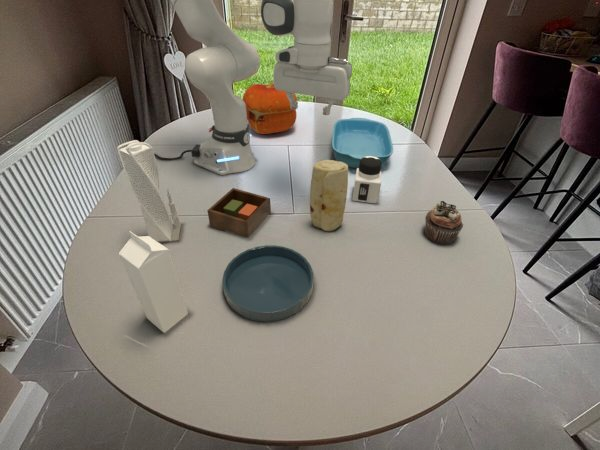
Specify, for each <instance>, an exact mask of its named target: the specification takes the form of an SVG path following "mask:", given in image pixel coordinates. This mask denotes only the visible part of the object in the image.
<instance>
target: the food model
mask: <svg viewBox="0 0 600 450" xmlns="http://www.w3.org/2000/svg"><path fill="white" fill-rule="evenodd" d="M310 179H311V180H310V186H309V187H310V189H309V213H310V219H311V222H312V225H313V227H315V228H318V229H322V230H323V231H324V232H333V231H335V230H336V229H338V228H339V227H340V226H341V225H342V224H343V222H344V216H345V215H344V214H345V210H346V205H347V204H346V203H347V197H348V196H347V195H348V187H349V167H348V165H347V164H345V163H343V162H338V161H337V160H333V159H332V160H331V159H325V160H324V159H323V160H320V161H318V162H316V163H314V164H313V166H312V172H311V178H310Z"/></svg>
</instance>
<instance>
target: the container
mask: <svg viewBox="0 0 600 450" xmlns="http://www.w3.org/2000/svg"><path fill="white" fill-rule="evenodd" d="M381 166H382V162H381V160H380V159H379V158H376V157H373V156H366V157H363V158H362V159H361V160H360V164H359V168H356V171H355V178H354V186H353V191H352V199H351V200H352V201H354V202H361V203H369V204H378V202H379V201H378V200H379V197H380V191H381V190H380V189H381V185H382V167H383V166H382V167H381Z"/></svg>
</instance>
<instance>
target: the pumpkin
mask: <svg viewBox="0 0 600 450" xmlns="http://www.w3.org/2000/svg"><path fill="white" fill-rule="evenodd" d="M293 97H294V99H295V101H297V102H298V98H297V96H296V93H294V95H293ZM242 100H243V101H244V102H245V104H246V111H247V123H248V125H249V126H250V127H251V129H253V131H254V132H256V133H258V134H260V135H271V134H275V133H282V132H286V131H288V130H290V129H291V128H292V127H293V126H294V125H295V124H296V121H297V116H298V115H297V109H296V110H295V109H291V108H290V102H289V100H288V98H287V96H286V92H285V91H279V90H276V89H275V87H274V84H273V81H270V82H269V83H268V84H260V83H256V84H252V85H249V86H248V87H247V89H245V91H244V94H243V97H242Z"/></svg>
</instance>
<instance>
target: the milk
mask: <svg viewBox="0 0 600 450" xmlns="http://www.w3.org/2000/svg"><path fill="white" fill-rule="evenodd" d="M128 233H129V236H130V238H129V239H128V240H127V242H126V243H125V245H124V246H123V247H122V248H121V250H120V251H119V252H118V255H119V257H120V260H121V262H122V265H123V267H124V269H125V272H126V274H127V276H128V279H129V281H130V283H131V286H132V287H133V289H134V292H135V294H136V297H137V299H138V301H139V304H140V306H141V308H142V310H143V312H144V315H145V317H146V319H147V320H148V321H149V322H151V323H152V325H154V326H155V327H157V328H158V329H159V330H160V331H161V332H162V333H163V334H165V333H166V332H167V331H169V330H170V329H171V328H172V327H174V326H175V325H176V324H178V323H180V321H181V320H182V319H184V318H185V317H186V316H187V315H188V314H189V311H188V308H187V305H186V301H185V298H184V295H183V292H182V288H181V285H180V282H179V278H178V274H177V272H176V268H175V266H174V262H173V259H172V256H171V252H170V249H168V247H166V246H164V245H163V244H162V243H158V242H157V241H155V240H154V239H152V238H151V237H150V236H148V235H144V236H143V235H142V236H138V235H136V234H135V233H134V232H132V231H131V230H129V231H128Z"/></svg>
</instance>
